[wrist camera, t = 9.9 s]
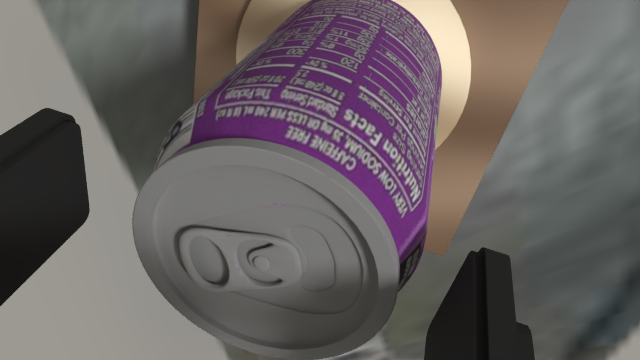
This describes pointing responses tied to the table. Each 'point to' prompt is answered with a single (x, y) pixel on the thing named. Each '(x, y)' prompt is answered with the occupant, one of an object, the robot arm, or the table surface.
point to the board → (457, 78)
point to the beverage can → (300, 184)
